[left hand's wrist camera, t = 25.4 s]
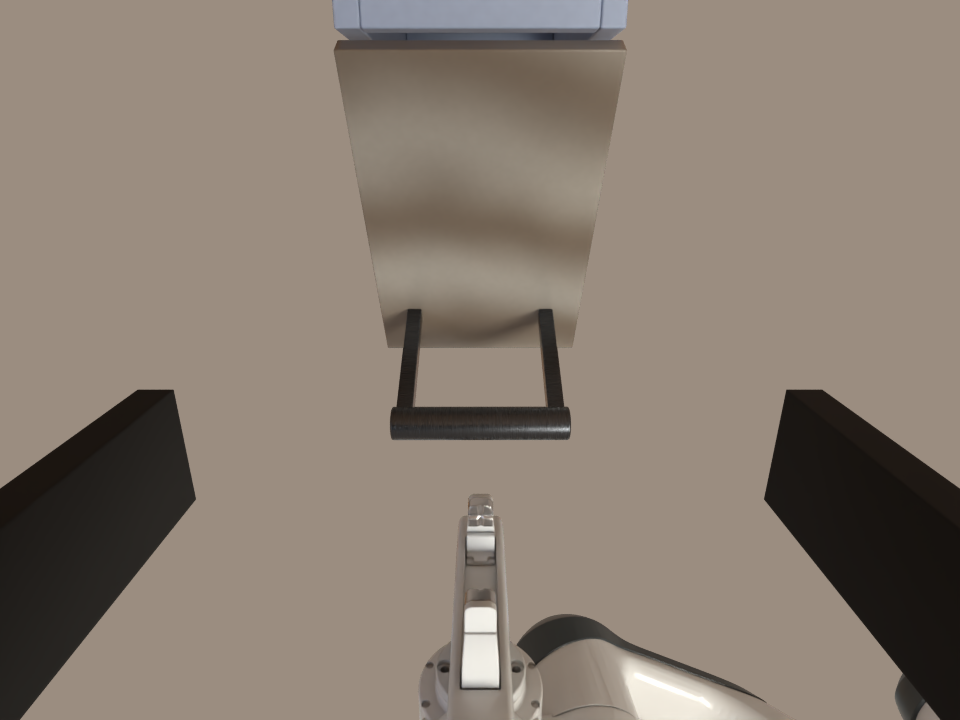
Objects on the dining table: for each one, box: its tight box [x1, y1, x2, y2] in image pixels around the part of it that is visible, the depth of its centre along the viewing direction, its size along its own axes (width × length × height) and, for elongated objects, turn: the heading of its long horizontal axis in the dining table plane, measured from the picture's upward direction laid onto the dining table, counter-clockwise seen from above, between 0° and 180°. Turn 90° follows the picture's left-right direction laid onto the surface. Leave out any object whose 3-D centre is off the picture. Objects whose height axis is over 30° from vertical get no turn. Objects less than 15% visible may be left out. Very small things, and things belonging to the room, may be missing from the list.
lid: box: [334, 40, 627, 440], centre depth 23 cm, size 15×10×8 cm
